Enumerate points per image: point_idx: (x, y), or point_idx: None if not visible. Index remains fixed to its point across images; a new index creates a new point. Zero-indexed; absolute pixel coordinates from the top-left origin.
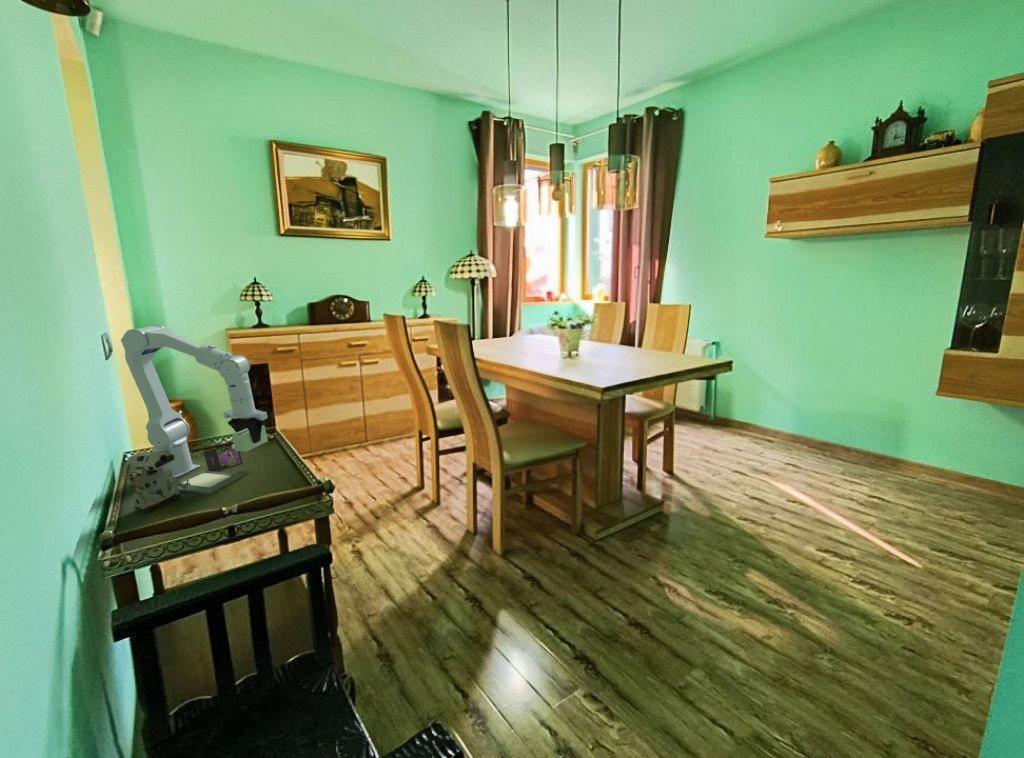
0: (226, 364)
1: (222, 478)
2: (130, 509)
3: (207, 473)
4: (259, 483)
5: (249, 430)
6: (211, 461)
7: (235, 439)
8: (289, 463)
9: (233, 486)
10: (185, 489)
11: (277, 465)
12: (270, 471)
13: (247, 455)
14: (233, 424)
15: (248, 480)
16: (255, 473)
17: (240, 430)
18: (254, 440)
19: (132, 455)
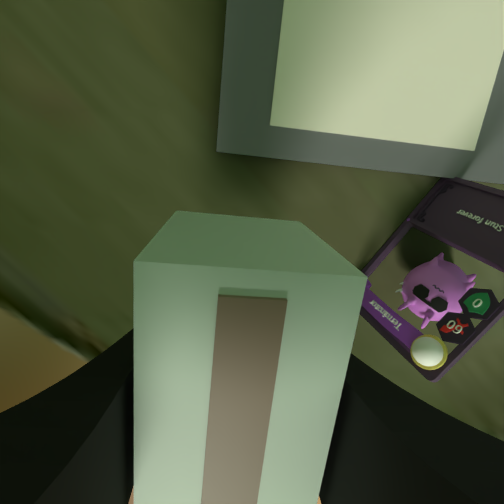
0: None
1: (298, 85)
2: None
3: (442, 145)
4: (23, 68)
5: (89, 404)
6: (484, 214)
7: (297, 251)
8: (74, 322)
9: (164, 15)
10: None
11: (124, 295)
12: (100, 226)
13: (382, 372)
14: (469, 486)
15: (135, 104)
16: (170, 195)
17: (344, 424)
18: (132, 330)
19: None
